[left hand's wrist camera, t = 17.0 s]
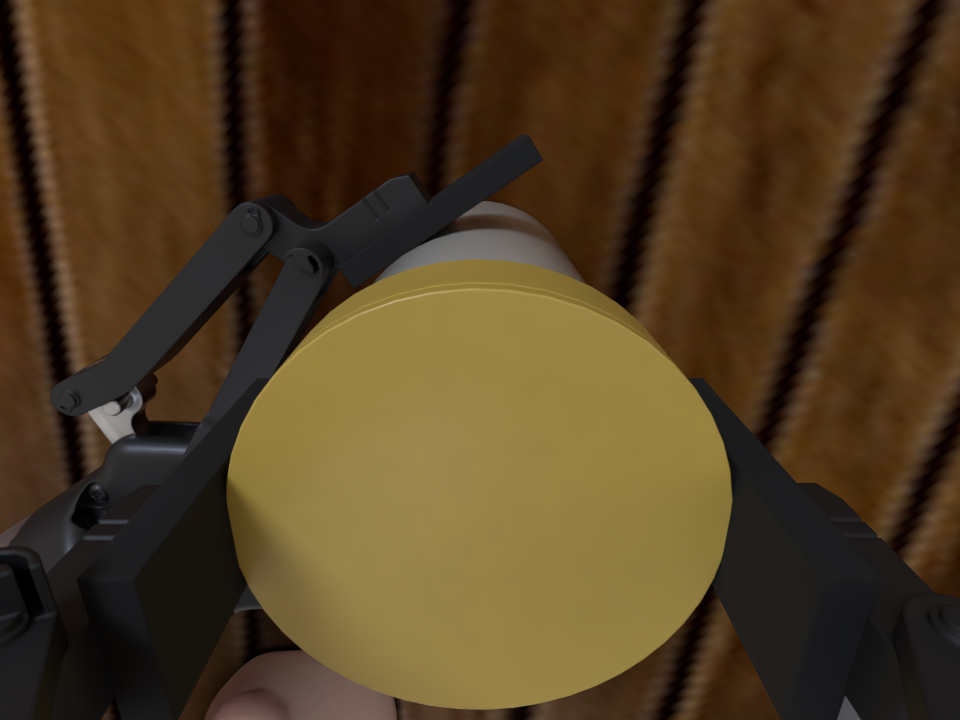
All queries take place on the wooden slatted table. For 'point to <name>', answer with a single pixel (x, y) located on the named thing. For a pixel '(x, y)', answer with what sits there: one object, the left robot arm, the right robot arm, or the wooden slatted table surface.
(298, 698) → the anatomical model
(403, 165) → the wooden slatted table surface
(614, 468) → the lid
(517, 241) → the jar
